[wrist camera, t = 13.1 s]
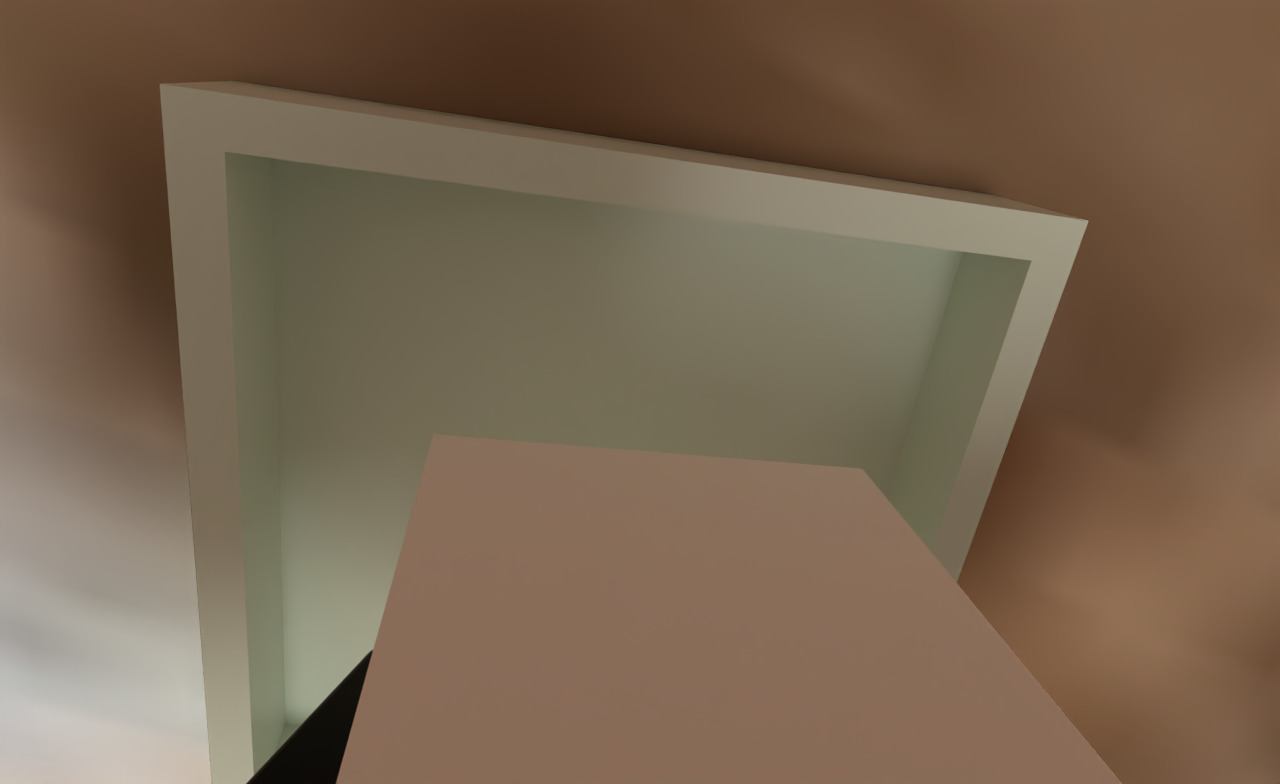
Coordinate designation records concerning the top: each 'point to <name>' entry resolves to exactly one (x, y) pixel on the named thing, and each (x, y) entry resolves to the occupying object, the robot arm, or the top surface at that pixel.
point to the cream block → (685, 634)
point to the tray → (545, 343)
